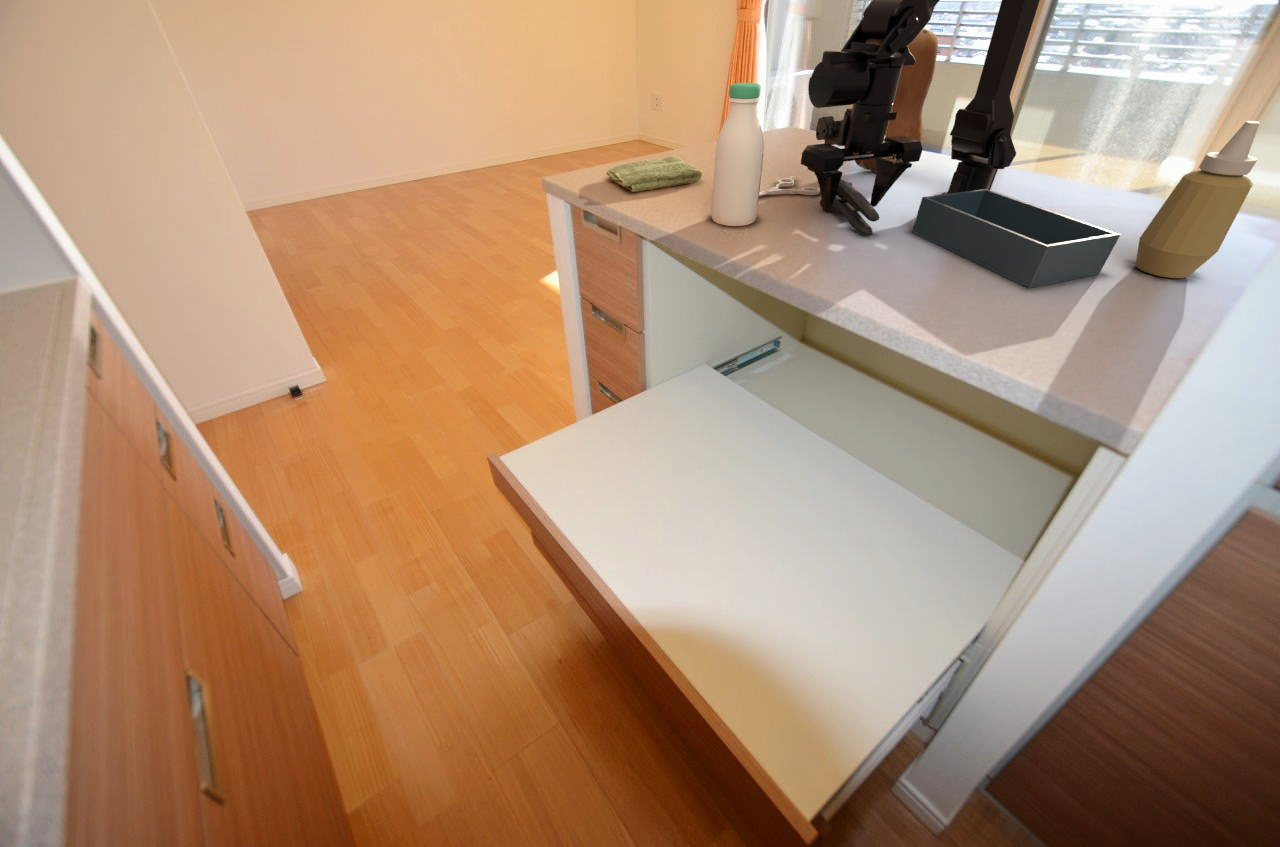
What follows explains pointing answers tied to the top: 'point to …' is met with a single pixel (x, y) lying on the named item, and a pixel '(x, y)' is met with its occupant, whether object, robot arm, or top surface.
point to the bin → (1014, 237)
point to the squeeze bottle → (1199, 210)
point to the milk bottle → (738, 159)
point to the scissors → (789, 183)
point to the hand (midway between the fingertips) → (849, 209)
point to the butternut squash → (911, 92)
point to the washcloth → (654, 174)
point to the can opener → (853, 207)
